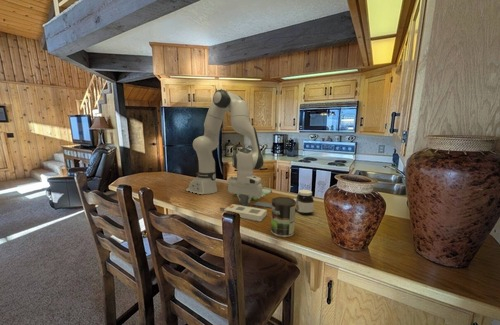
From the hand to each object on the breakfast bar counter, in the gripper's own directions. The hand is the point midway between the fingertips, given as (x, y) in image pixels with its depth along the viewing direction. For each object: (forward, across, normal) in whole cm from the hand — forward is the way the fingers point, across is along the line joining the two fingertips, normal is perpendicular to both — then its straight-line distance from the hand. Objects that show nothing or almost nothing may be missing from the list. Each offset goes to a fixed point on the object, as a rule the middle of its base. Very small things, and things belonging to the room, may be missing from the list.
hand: (244, 202), depth 121 cm
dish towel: (+4, -5, +25) cm, 26 cm away
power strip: (+3, +3, -10) cm, 11 cm away
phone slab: (+4, +10, +8) cm, 13 cm away
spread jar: (+3, +30, +7) cm, 31 cm away
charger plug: (+3, 0, 0) cm, 3 cm away
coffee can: (+3, +27, -19) cm, 33 cm away
